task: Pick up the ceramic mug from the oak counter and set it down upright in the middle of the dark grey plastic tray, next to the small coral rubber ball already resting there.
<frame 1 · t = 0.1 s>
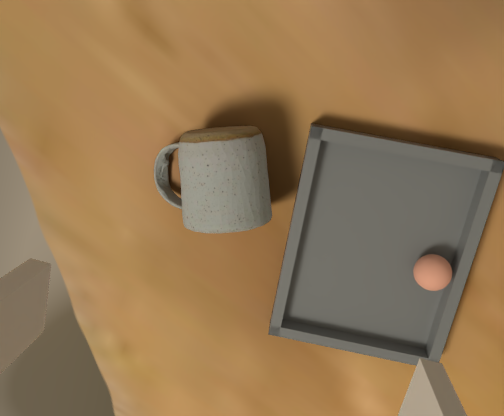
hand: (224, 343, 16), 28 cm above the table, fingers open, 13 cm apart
ceramic mug: (217, 172, 44), on the table
ball: (439, 261, 40), point 3 cm above the table, tilted 120°, touching tray
tray: (374, 246, 44), on the table
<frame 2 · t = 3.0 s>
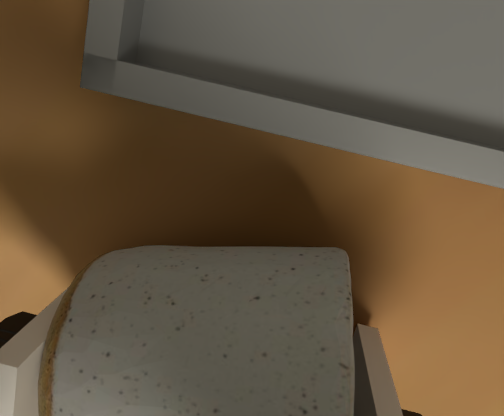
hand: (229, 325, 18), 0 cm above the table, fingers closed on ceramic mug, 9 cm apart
ceramic mug: (242, 339, 18), on the table, touching gripper
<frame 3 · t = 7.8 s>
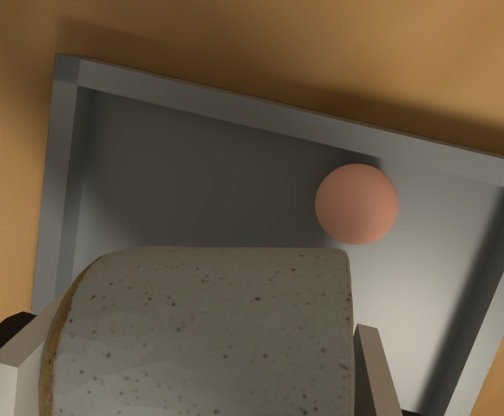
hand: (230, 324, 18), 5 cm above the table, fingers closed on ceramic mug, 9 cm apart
ceramic mug: (242, 339, 18), point 4 cm above the table, touching gripper
ball: (371, 218, 17), point 4 cm above the table, tilted 166°, touching tray
tray: (265, 278, 22), on the table
when the fingers open (2 cm above the table, at t = 8.9 s): ceramic mug stays where it is, resting on tray.
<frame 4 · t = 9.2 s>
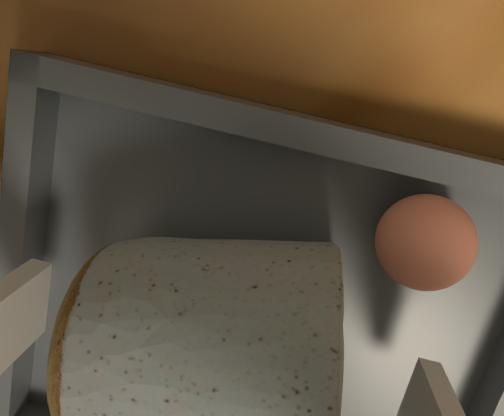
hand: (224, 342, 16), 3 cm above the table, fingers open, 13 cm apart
ceramic mug: (239, 329, 19), resting on tray
ball: (474, 255, 15), point 2 cm above the table, tilted 96°, touching tray
tray: (260, 308, 19), on the table
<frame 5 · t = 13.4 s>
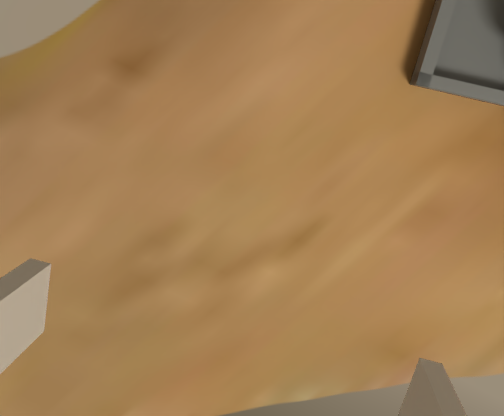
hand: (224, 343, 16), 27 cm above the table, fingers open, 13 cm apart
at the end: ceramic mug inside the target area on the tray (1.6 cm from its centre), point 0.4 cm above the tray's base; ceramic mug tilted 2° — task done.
